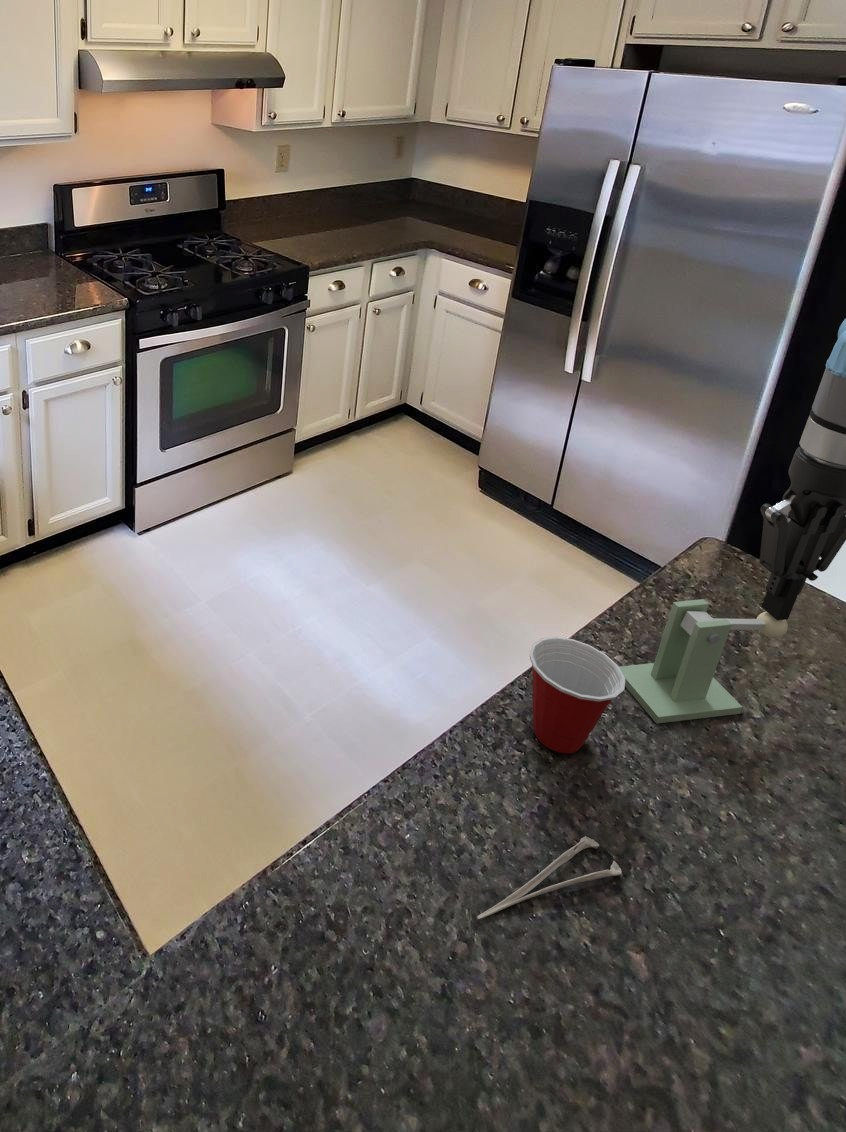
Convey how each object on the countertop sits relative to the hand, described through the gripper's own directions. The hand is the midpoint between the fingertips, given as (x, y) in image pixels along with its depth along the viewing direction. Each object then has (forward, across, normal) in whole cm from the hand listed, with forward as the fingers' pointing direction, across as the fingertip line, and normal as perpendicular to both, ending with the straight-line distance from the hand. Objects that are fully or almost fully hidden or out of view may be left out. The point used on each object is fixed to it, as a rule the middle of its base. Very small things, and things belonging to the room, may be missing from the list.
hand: (774, 612), depth 104 cm
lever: (+3, +5, 0) cm, 6 cm away
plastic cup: (+13, +30, +4) cm, 33 cm away
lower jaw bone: (+13, +43, +23) cm, 50 cm away
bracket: (+13, +11, 0) cm, 16 cm away
